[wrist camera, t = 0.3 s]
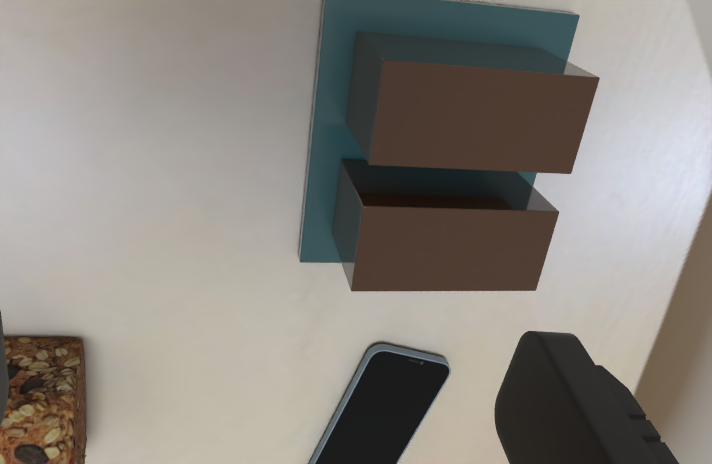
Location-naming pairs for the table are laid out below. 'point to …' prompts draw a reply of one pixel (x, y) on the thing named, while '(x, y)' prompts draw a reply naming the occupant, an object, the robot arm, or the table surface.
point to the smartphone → (383, 407)
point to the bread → (44, 402)
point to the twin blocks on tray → (439, 142)
